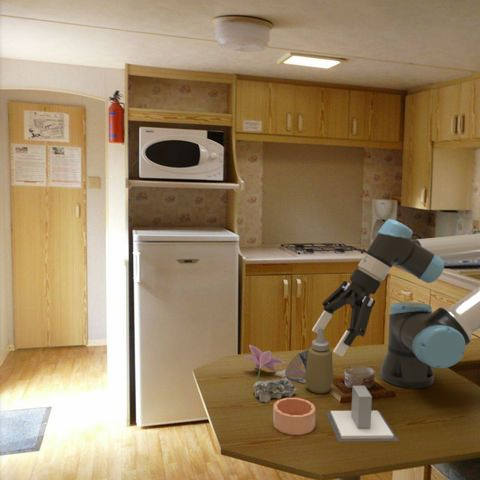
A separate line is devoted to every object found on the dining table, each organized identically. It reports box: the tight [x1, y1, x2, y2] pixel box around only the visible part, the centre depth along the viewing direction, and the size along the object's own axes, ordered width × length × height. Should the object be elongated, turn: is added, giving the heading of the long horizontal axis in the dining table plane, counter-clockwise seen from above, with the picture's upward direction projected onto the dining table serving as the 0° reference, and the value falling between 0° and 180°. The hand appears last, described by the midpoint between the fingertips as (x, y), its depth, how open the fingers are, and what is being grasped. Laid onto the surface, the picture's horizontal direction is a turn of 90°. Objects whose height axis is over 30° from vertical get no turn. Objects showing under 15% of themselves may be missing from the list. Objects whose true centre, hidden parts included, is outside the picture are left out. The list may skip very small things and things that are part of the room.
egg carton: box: [253, 376, 298, 404], centre depth 137 cm, size 11×8×4 cm
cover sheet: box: [330, 385, 394, 439], centre depth 120 cm, size 12×12×9 cm
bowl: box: [272, 397, 316, 436], centre depth 121 cm, size 10×10×5 cm
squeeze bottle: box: [304, 329, 334, 394], centre depth 139 cm, size 8×8×18 cm
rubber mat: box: [325, 411, 400, 443], centre depth 121 cm, size 14×14×1 cm
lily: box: [243, 344, 286, 381], centre depth 151 cm, size 12×12×10 cm
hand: (326, 343), depth 132 cm, fingers open, 13 cm apart
